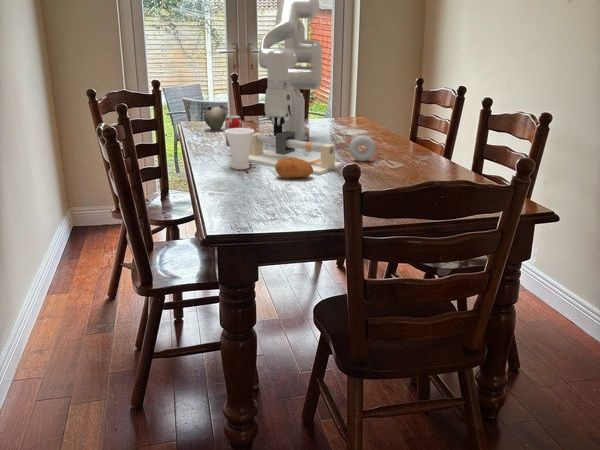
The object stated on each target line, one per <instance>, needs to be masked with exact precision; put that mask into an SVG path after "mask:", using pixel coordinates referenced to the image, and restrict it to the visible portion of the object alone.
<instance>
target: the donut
mask: <svg viewBox="0 0 600 450" xmlns="http://www.w3.org/2000/svg"><path fill="white" fill-rule="evenodd" d="M361 145H364V146H365V147H366V148H365V149H366V150H365V151H363V152H362V151H360V150H359V146H361ZM348 149H349V153H350V156H351V157H352V158H353V160H356V161H358V162H366V161H369V160H371V158H373V156H374V155H375V153H376V143H375V141H374V139H372V138H371V137H369V136H368V135H363V134H362V135H361V134H360V135H357V136H355V137H353V139H352V140H350V143H349V147H348Z"/></svg>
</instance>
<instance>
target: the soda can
mask: <svg viewBox="0 0 600 450" xmlns="http://www.w3.org/2000/svg"><path fill="white" fill-rule="evenodd" d="M224 123H225V126H224V127H225V130H227V129H231V128H243V121H242V118H241V116H240V115H235V114H234V115H232V114H231V115H226V118H225V120H224ZM225 130H224V131H225ZM225 142H226V145H228V146H230V145H229V142H228V139H227V136H226V135H225Z"/></svg>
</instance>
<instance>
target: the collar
mask: <svg viewBox="0 0 600 450" xmlns="http://www.w3.org/2000/svg"><path fill="white" fill-rule="evenodd" d="M275 137H276V145H275V151H276V154H281V155H285V154H292V153H293V152H296V148H290V147H285V139H291V140H295V132H292V131H285V132H283V131H282V132H281V133H277V134H276V136H275Z"/></svg>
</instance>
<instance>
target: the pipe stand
mask: <svg viewBox="0 0 600 450" xmlns="http://www.w3.org/2000/svg"><path fill="white" fill-rule="evenodd" d="M264 144H268V145H272V146H276V136H270V135H264V133H260V132H255V133H254V134H253V137H252V141H251V144H250V149H249V163H253V164H256V165H257V164H258V165H262V166H263V165H264V166H268V167H272V168H276V167H275V166H276V164H277V162H278V161H279V160H281V159H284V158H292V157H295V158H298V159H301V160H304V161H307V162H308V163H310V165H311V166H312V168H313V172H312V174H311V175H316V176H321V175H324V174H325V173H328V172H331V171H333V170H336V169H338V168H342V167H343V164H344V163H343V162H339V161H336V144H333V143H325V144H322V143H316V142H313V141H298V140H291V139H285V147H290V148H295V150H302V151H306V152H311V153H313V152H314V153H320V158H315V157H310V156H304V155H298V154H294V153H293V154H292V153H288V154H285V155H281V154H276V150H275V151H274V150H269V149H264Z"/></svg>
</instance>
